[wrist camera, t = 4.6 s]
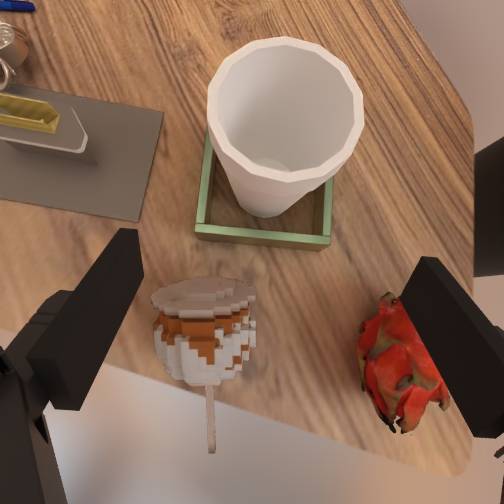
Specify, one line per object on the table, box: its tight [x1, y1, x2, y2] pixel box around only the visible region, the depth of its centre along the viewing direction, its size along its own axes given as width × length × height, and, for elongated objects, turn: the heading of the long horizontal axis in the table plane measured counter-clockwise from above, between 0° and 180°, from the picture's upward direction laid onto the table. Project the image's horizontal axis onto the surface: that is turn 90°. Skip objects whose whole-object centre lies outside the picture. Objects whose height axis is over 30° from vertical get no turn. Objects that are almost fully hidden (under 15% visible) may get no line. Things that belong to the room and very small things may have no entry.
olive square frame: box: [194, 123, 334, 251], centre depth 29 cm, size 12×12×4 cm
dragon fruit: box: [357, 292, 450, 435], centre depth 25 cm, size 8×8×12 cm
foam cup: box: [207, 36, 364, 218], centre depth 24 cm, size 10×9×13 cm
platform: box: [0, 84, 164, 222], centre depth 26 cm, size 12×18×7 cm, turn 81°
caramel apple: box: [151, 277, 256, 453], centre depth 24 cm, size 8×8×15 cm
